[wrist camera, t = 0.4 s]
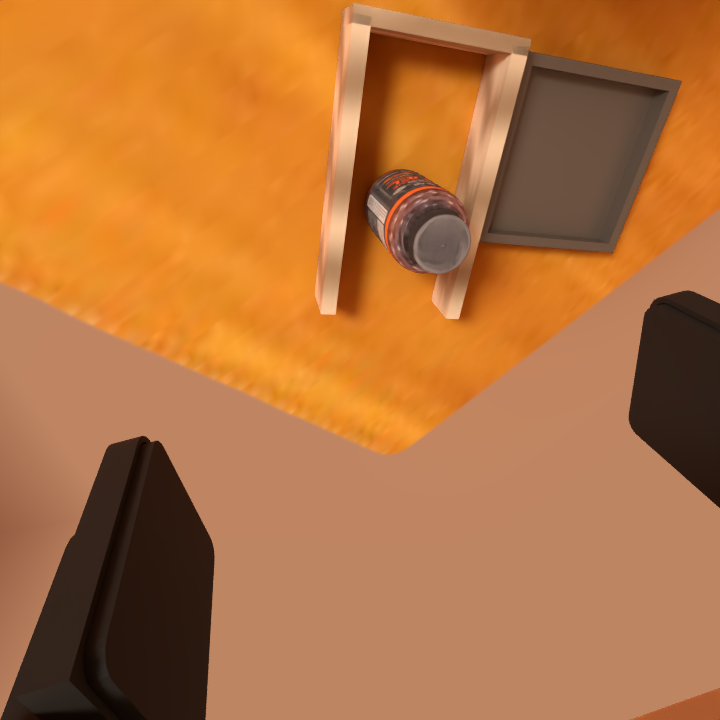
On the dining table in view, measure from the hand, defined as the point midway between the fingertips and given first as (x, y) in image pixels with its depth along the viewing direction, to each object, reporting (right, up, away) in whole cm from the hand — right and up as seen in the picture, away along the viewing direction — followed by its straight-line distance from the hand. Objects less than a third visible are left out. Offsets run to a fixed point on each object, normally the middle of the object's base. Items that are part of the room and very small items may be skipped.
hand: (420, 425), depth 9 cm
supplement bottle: (+2, +14, +32) cm, 35 cm away
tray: (+16, +18, +32) cm, 41 cm away
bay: (+2, +16, +30) cm, 34 cm away
